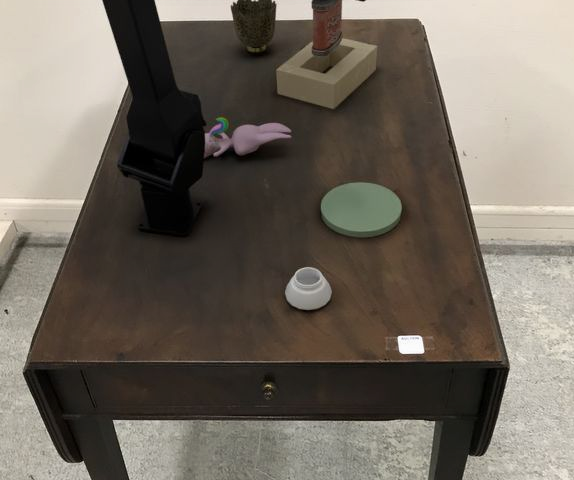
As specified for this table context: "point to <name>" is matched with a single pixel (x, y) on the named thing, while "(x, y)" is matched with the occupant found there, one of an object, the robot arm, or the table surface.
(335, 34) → the lighter
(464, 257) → the table surface
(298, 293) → the white jar
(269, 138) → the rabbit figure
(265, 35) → the cup
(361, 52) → the hollow beige frame
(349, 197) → the plate
